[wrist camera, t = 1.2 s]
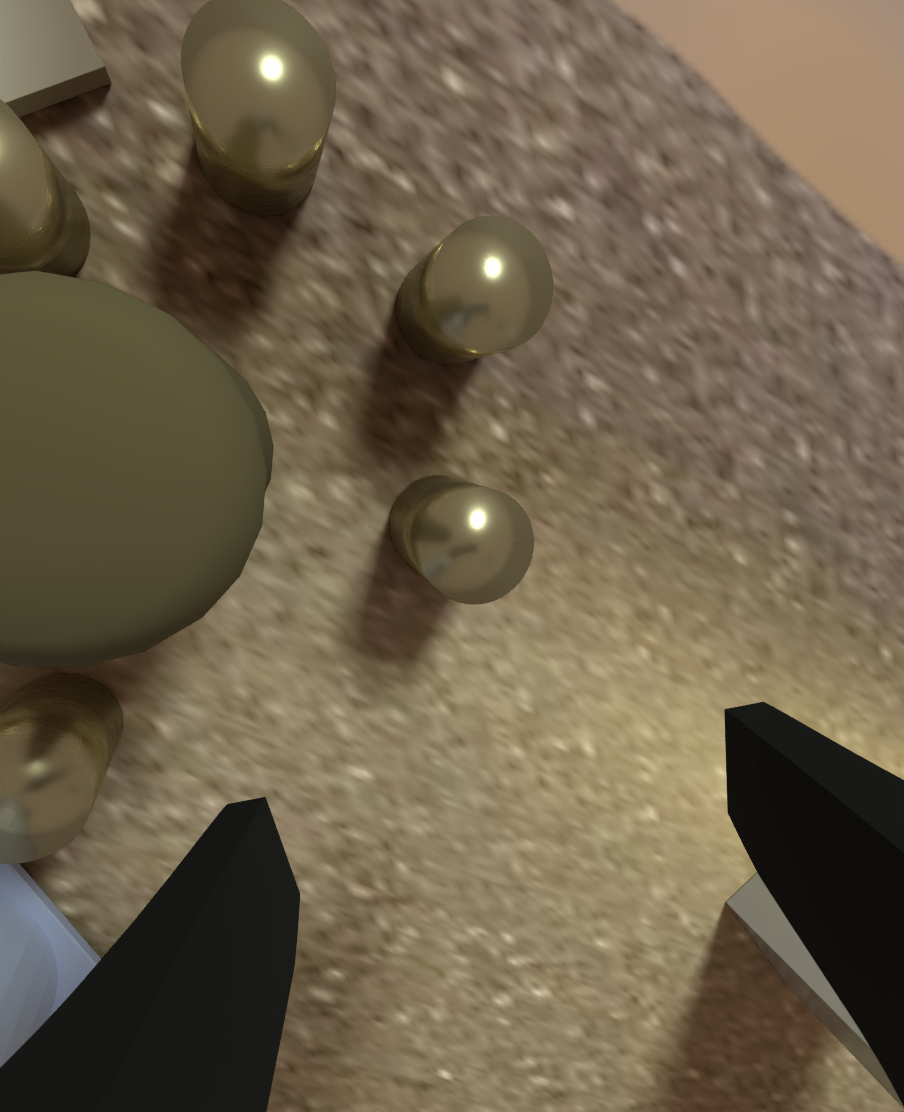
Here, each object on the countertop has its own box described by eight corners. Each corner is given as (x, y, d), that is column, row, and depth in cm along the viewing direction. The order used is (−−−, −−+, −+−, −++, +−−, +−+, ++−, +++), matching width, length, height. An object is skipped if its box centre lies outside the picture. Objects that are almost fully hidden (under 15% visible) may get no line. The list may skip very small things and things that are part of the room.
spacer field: (-62, 852, 18) (-144, 965, 14) (-518, 347, 14) (-809, 319, 10) (574, 500, 22) (643, 516, 18) (377, 9, 17) (413, -106, 13)
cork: (47, 568, 17) (-243, 780, 7) (11, 329, 16) (-404, 171, 6) (281, 550, 19) (319, 702, 9) (264, 333, 18) (287, 215, 8)
